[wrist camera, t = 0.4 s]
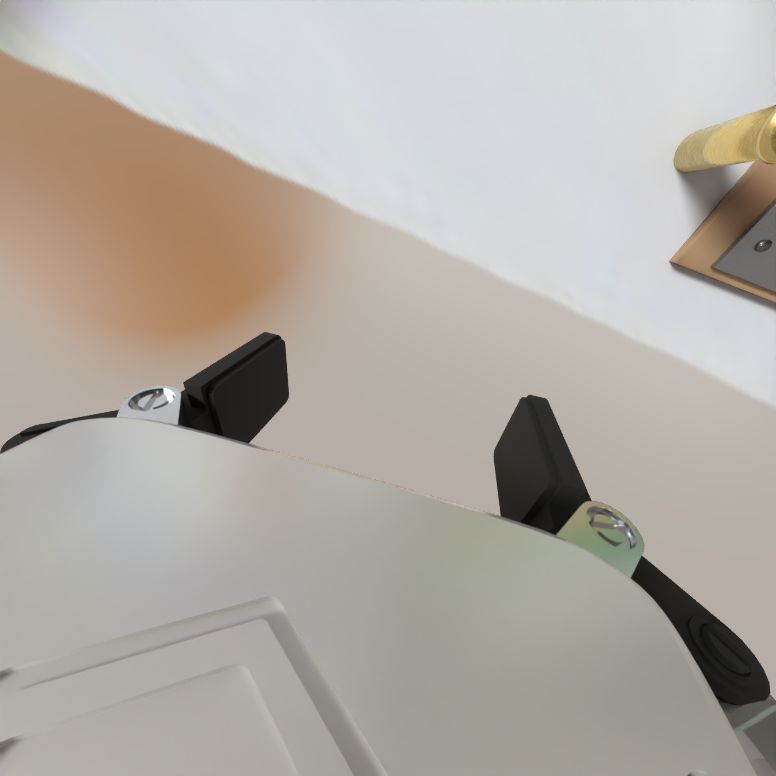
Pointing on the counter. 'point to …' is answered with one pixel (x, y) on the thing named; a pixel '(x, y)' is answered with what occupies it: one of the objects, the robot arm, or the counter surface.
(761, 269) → the hinge
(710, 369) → the counter surface
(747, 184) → the mount board
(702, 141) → the hinge pin
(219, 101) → the counter surface
